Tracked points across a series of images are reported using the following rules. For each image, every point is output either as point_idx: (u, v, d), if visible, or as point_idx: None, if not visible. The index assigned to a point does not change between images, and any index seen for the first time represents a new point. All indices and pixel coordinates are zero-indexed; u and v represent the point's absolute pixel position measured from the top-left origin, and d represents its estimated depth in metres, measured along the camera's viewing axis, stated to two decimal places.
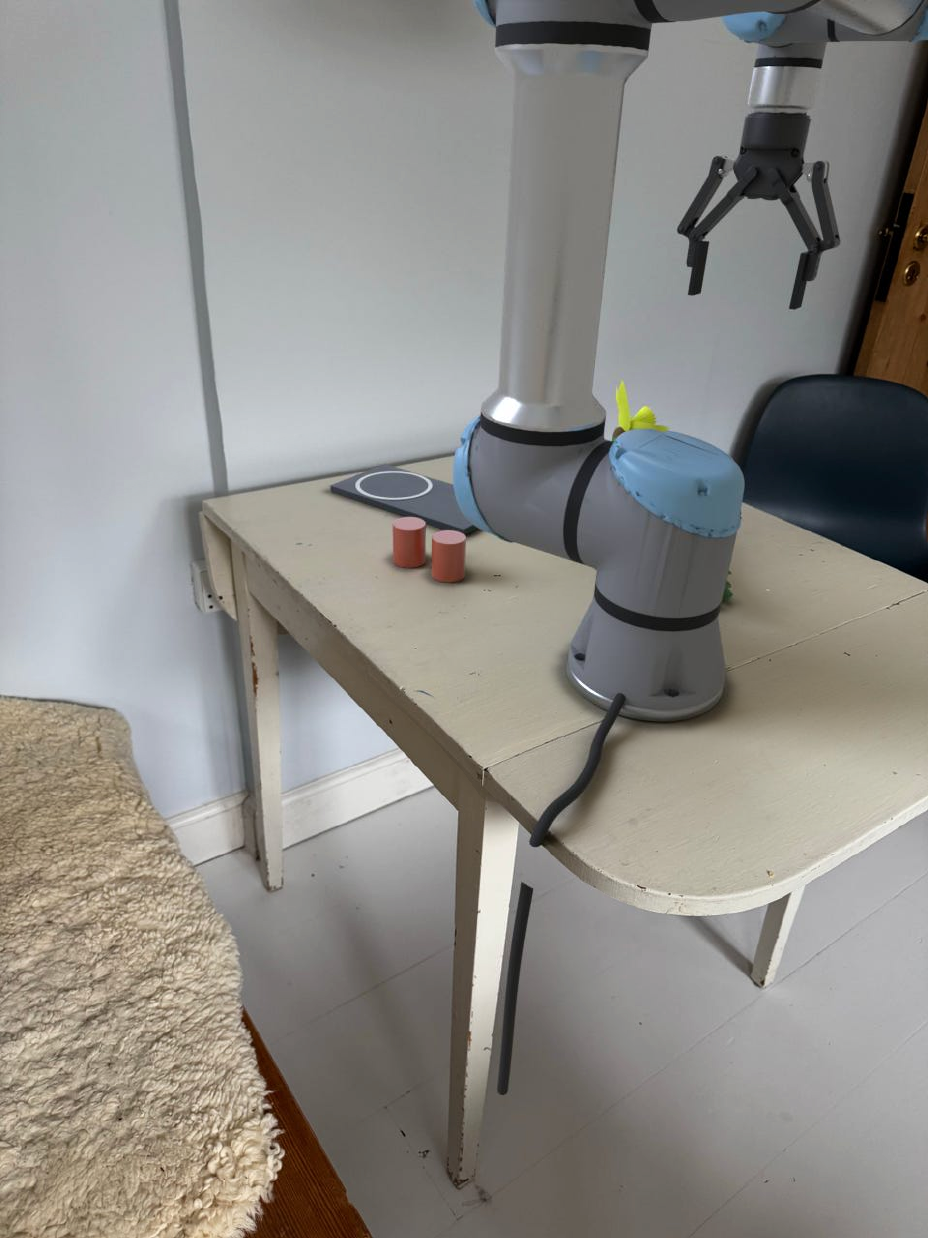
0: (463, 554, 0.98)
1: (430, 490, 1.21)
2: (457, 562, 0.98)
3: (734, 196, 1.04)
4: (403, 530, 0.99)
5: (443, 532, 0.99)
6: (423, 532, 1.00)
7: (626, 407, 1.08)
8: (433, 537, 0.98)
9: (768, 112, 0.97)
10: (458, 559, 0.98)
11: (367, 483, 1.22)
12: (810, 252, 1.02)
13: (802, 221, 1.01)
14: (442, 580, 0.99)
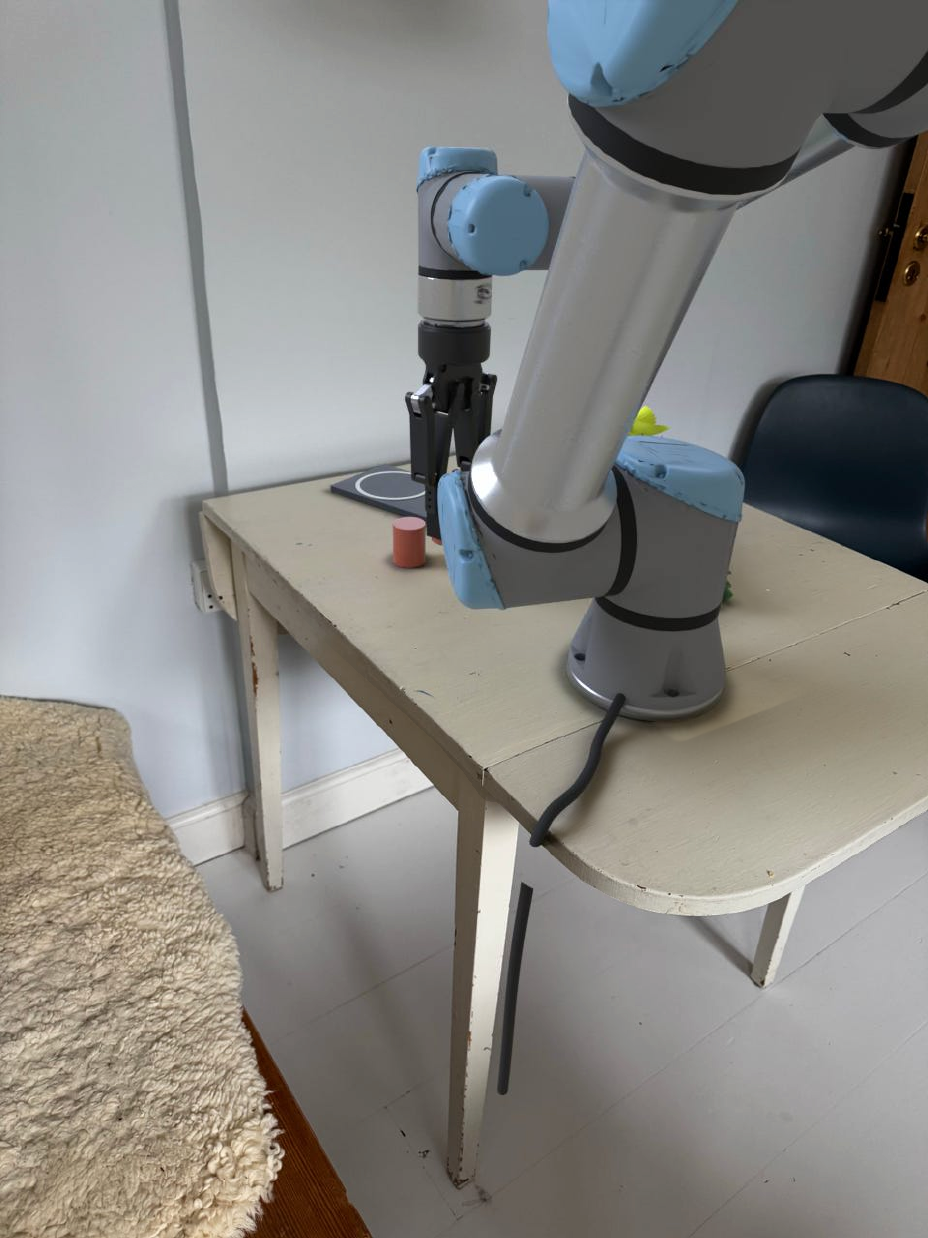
0: None
1: None
2: None
3: None
4: (403, 530, 0.99)
5: None
6: (423, 532, 1.00)
7: None
8: None
9: None
10: None
11: (367, 483, 1.22)
12: None
13: None
14: None
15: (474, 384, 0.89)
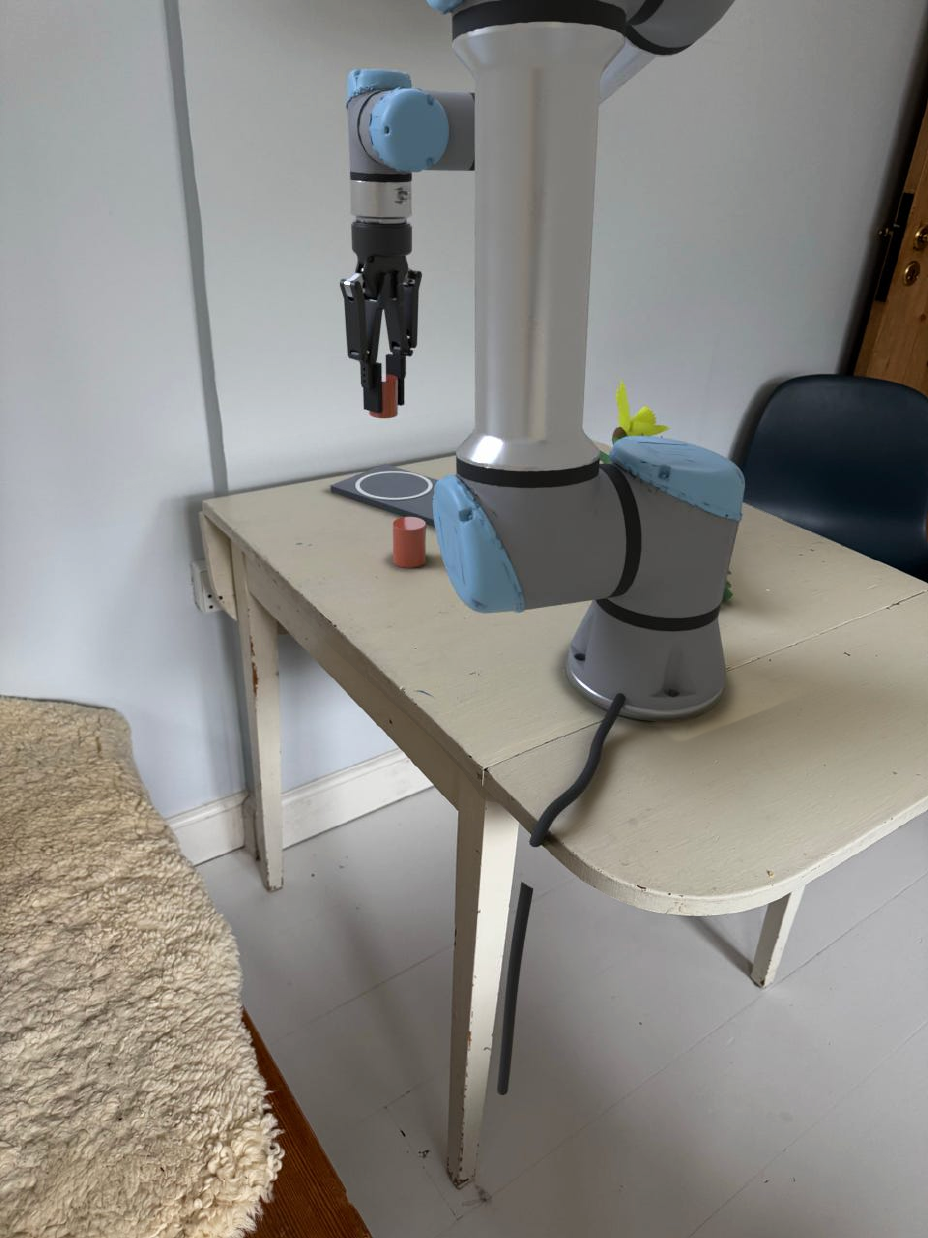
0: (395, 393, 1.13)
1: (430, 490, 1.21)
2: (390, 399, 1.13)
3: None
4: (403, 530, 0.99)
5: None
6: (423, 532, 1.00)
7: (626, 407, 1.08)
8: None
9: None
10: (391, 397, 1.13)
11: (367, 483, 1.22)
12: None
13: None
14: (377, 416, 1.14)
15: (399, 276, 1.06)
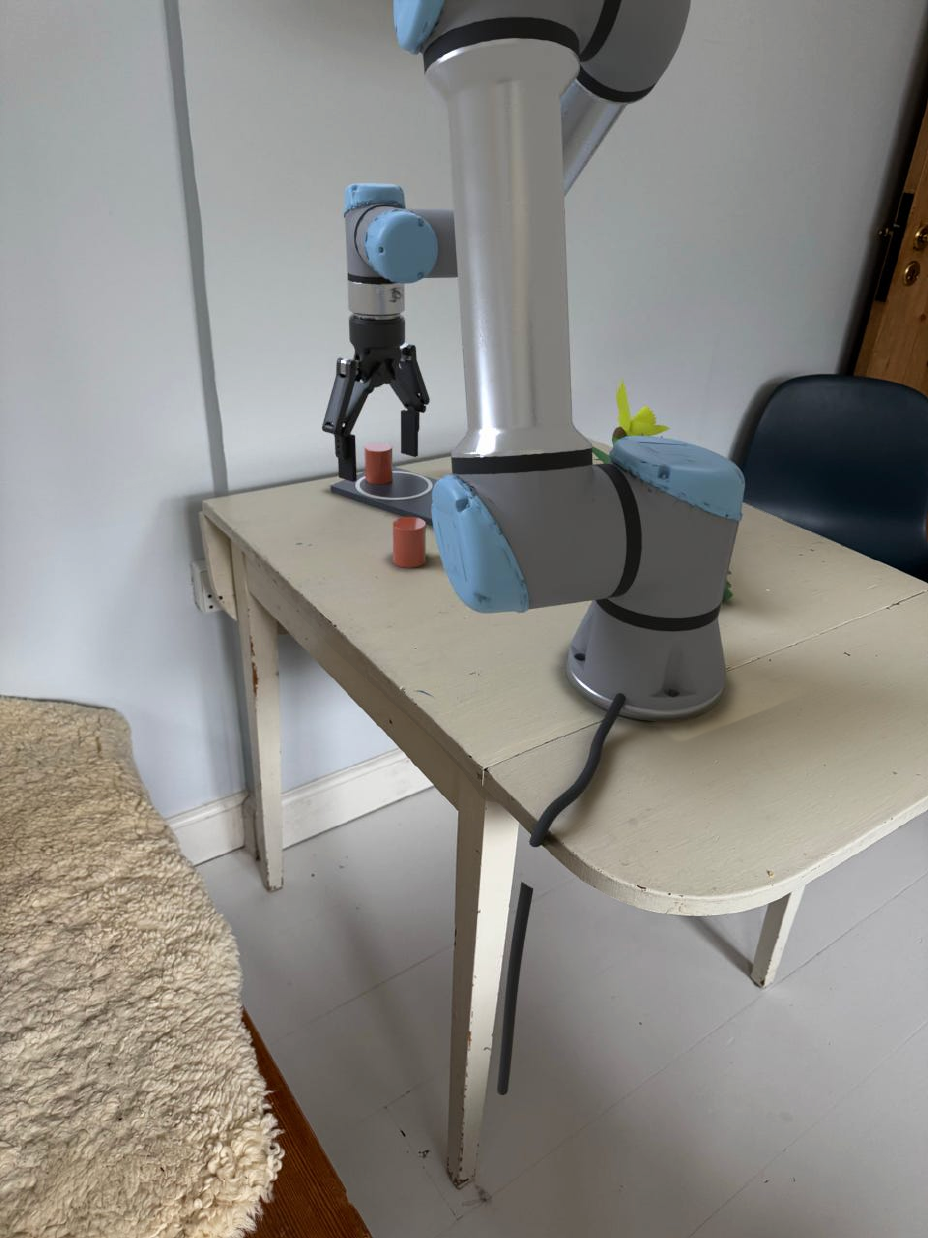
0: (390, 461, 1.21)
1: (430, 490, 1.21)
2: (385, 467, 1.21)
3: None
4: (403, 530, 0.99)
5: (374, 443, 1.22)
6: (423, 532, 1.00)
7: (626, 407, 1.08)
8: (365, 447, 1.21)
9: None
10: (385, 464, 1.21)
11: (367, 483, 1.22)
12: None
13: None
14: (373, 482, 1.22)
15: (394, 364, 1.15)
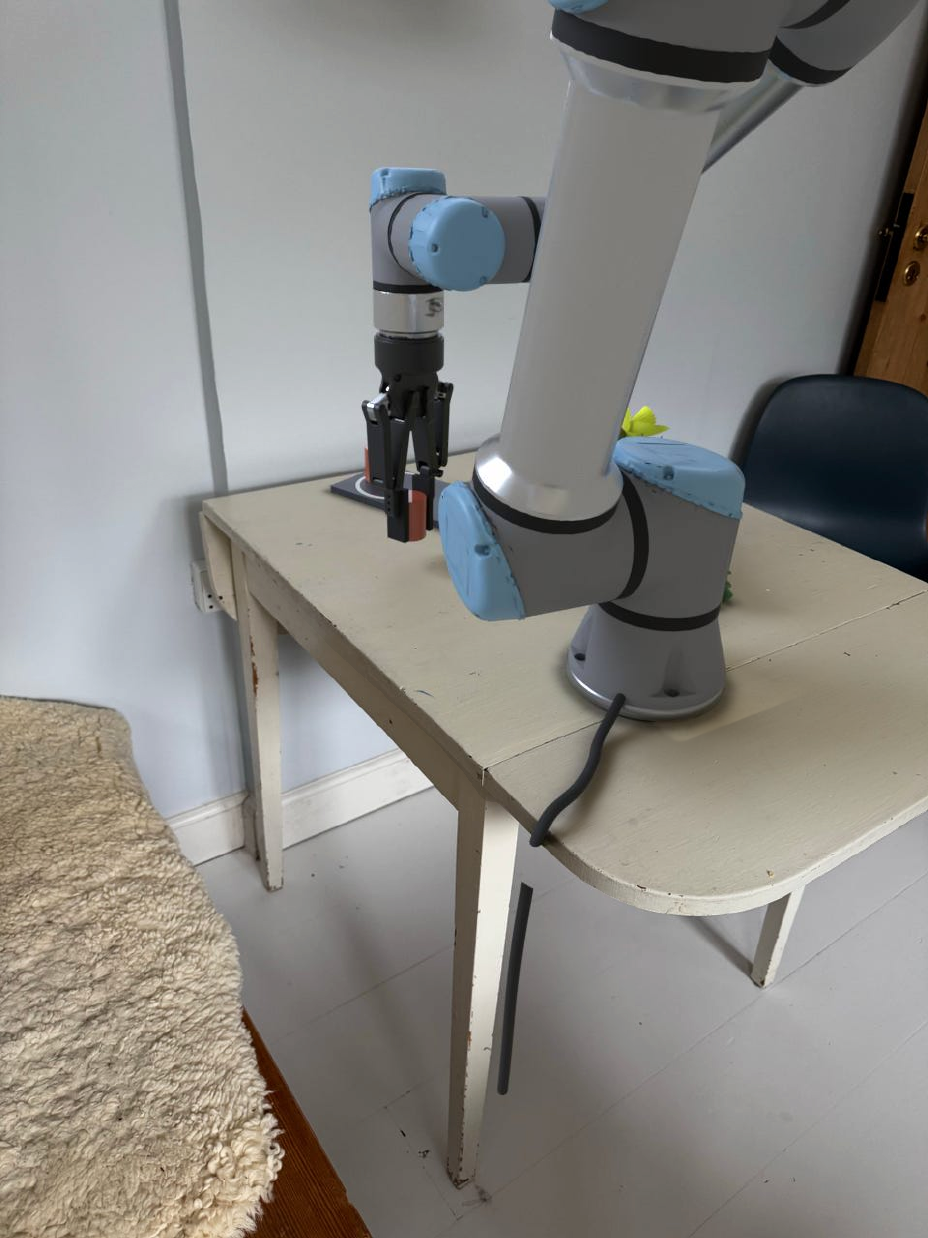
0: None
1: None
2: None
3: None
4: None
5: None
6: (424, 505, 0.98)
7: None
8: (365, 447, 1.21)
9: None
10: None
11: (367, 483, 1.22)
12: None
13: None
14: None
15: (429, 392, 0.93)
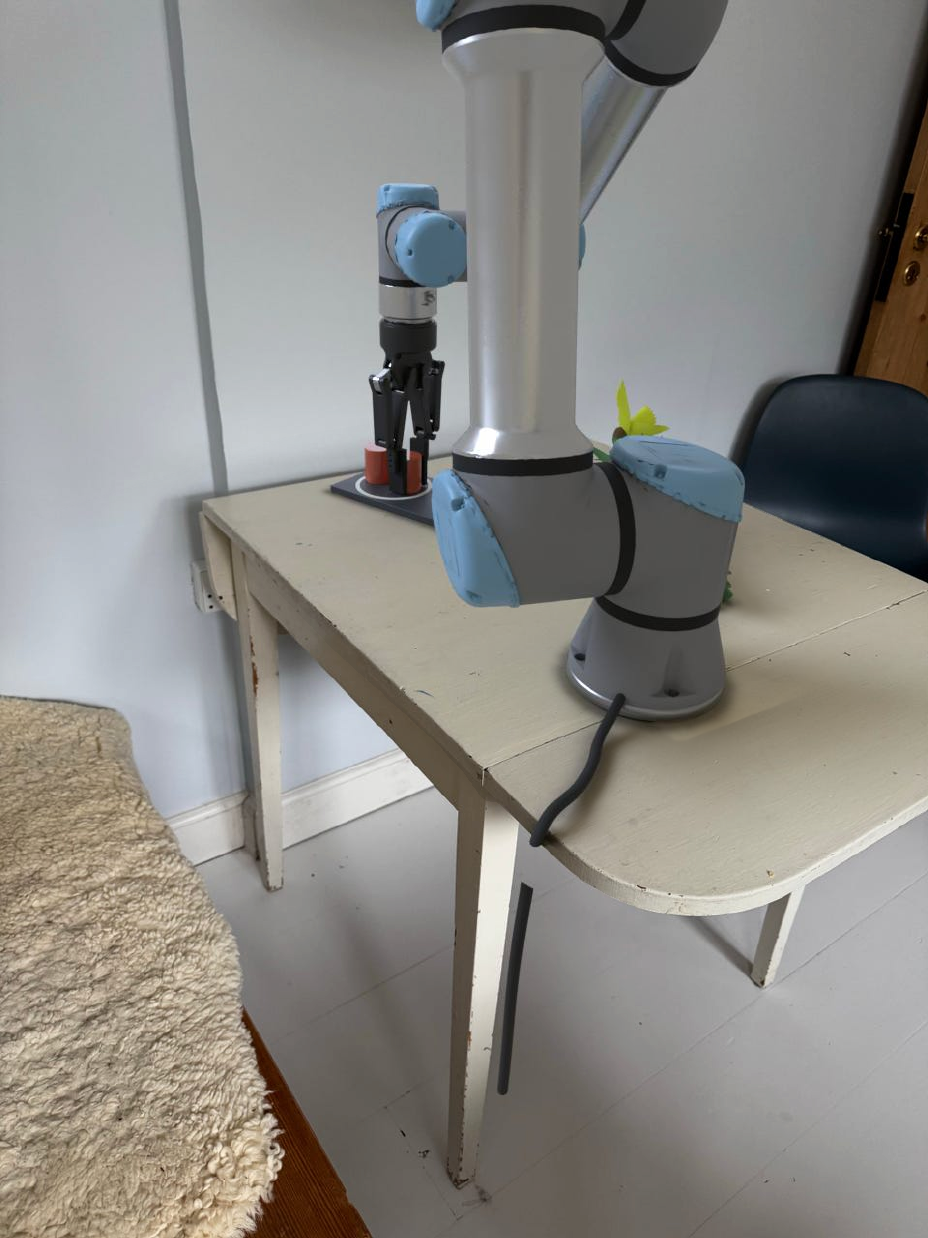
0: None
1: (430, 490, 1.21)
2: (385, 467, 1.21)
3: None
4: None
5: (374, 443, 1.22)
6: (419, 462, 1.18)
7: (626, 407, 1.08)
8: (365, 447, 1.21)
9: None
10: (385, 464, 1.21)
11: (367, 483, 1.22)
12: None
13: None
14: (373, 482, 1.22)
15: (424, 368, 1.12)
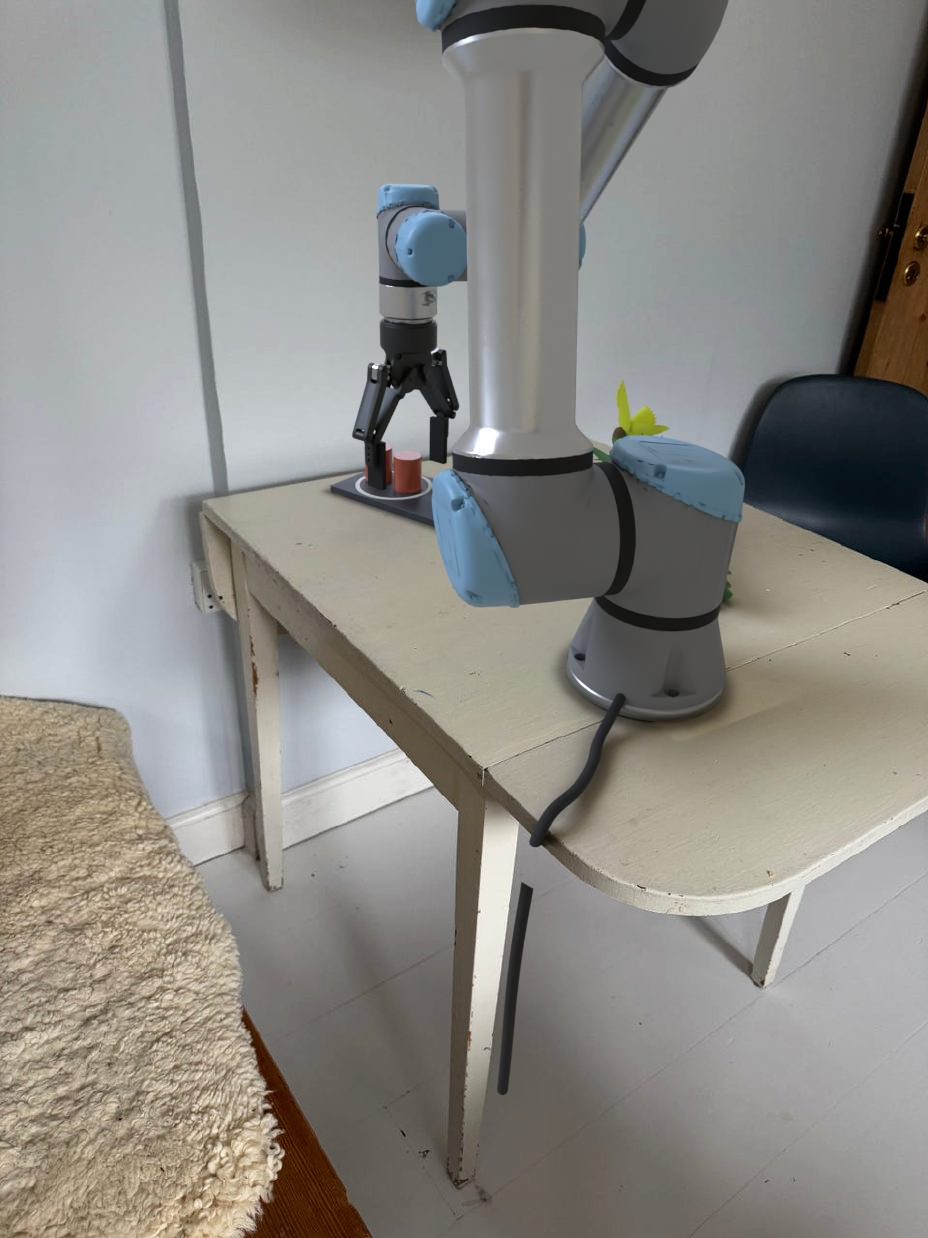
0: (390, 461, 1.21)
1: (430, 490, 1.21)
2: None
3: None
4: (402, 460, 1.17)
5: None
6: (419, 462, 1.18)
7: (626, 407, 1.08)
8: None
9: None
10: None
11: (367, 483, 1.22)
12: None
13: None
14: None
15: (425, 369, 1.12)
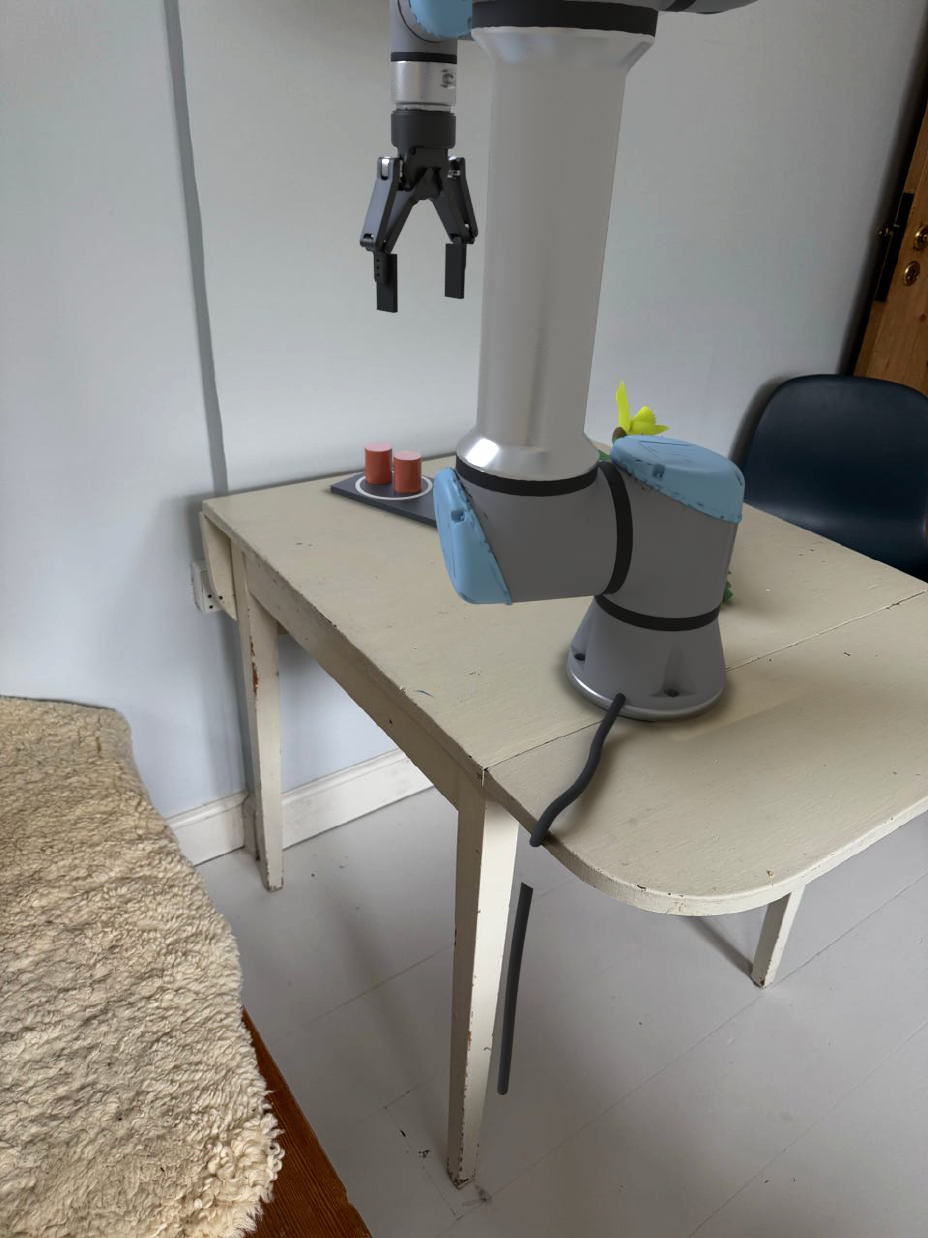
0: (390, 461, 1.21)
1: (430, 490, 1.21)
2: (385, 467, 1.21)
3: None
4: (402, 460, 1.17)
5: (374, 443, 1.22)
6: (419, 462, 1.18)
7: (626, 407, 1.08)
8: (365, 447, 1.21)
9: None
10: (385, 464, 1.21)
11: (367, 483, 1.22)
12: (371, 250, 0.99)
13: None
14: (373, 482, 1.22)
15: (442, 173, 0.99)
